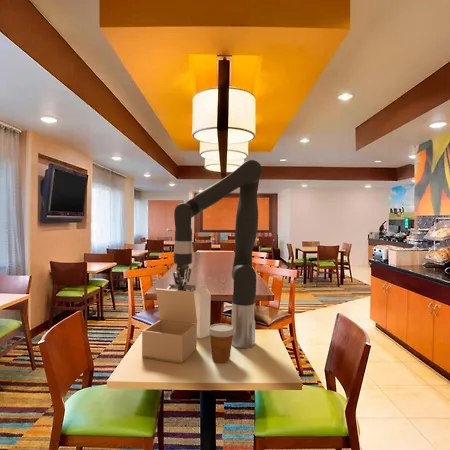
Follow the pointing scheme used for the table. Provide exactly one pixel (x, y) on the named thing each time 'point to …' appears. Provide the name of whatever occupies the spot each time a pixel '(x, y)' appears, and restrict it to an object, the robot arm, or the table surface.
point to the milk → (202, 310)
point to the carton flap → (177, 304)
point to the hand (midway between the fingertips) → (182, 293)
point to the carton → (169, 341)
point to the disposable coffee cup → (221, 342)
